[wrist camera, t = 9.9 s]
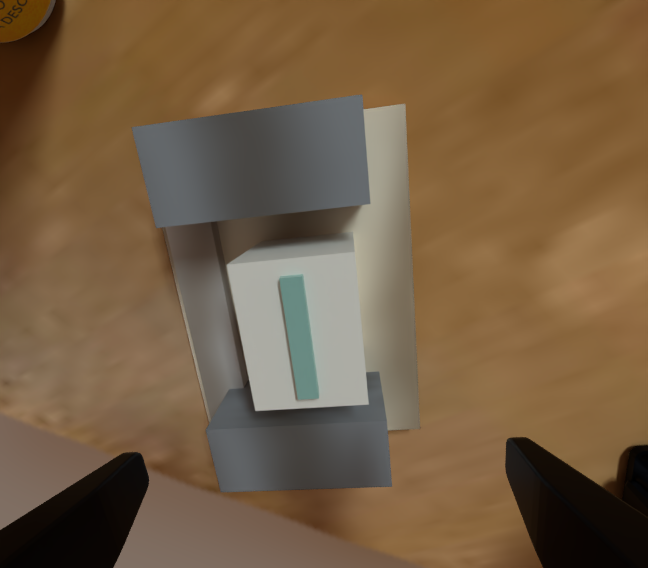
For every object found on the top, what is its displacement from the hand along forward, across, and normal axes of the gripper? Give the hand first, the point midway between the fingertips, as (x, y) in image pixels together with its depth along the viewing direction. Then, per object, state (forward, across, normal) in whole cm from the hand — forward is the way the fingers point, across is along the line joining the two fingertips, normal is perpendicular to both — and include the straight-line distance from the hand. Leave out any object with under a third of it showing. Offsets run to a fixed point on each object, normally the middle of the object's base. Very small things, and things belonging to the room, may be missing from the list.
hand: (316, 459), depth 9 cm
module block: (+10, +1, -1) cm, 10 cm away
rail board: (+11, +2, -1) cm, 11 cm away
